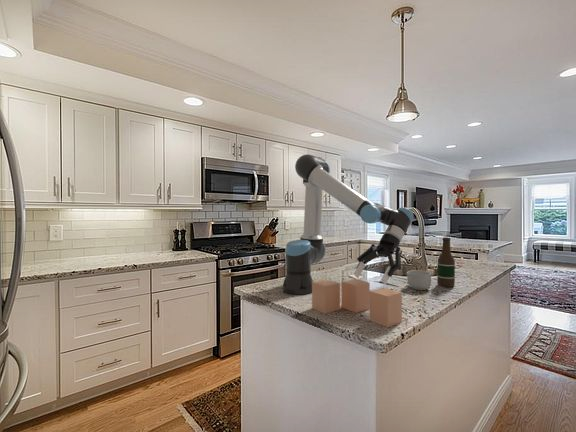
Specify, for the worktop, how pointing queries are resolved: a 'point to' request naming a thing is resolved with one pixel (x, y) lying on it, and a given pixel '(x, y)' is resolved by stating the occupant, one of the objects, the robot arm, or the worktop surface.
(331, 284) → the peach colored cube
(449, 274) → the beer bottle
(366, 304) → the smooth terracotta cube
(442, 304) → the worktop surface
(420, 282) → the teacup
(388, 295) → the tan peach cube
